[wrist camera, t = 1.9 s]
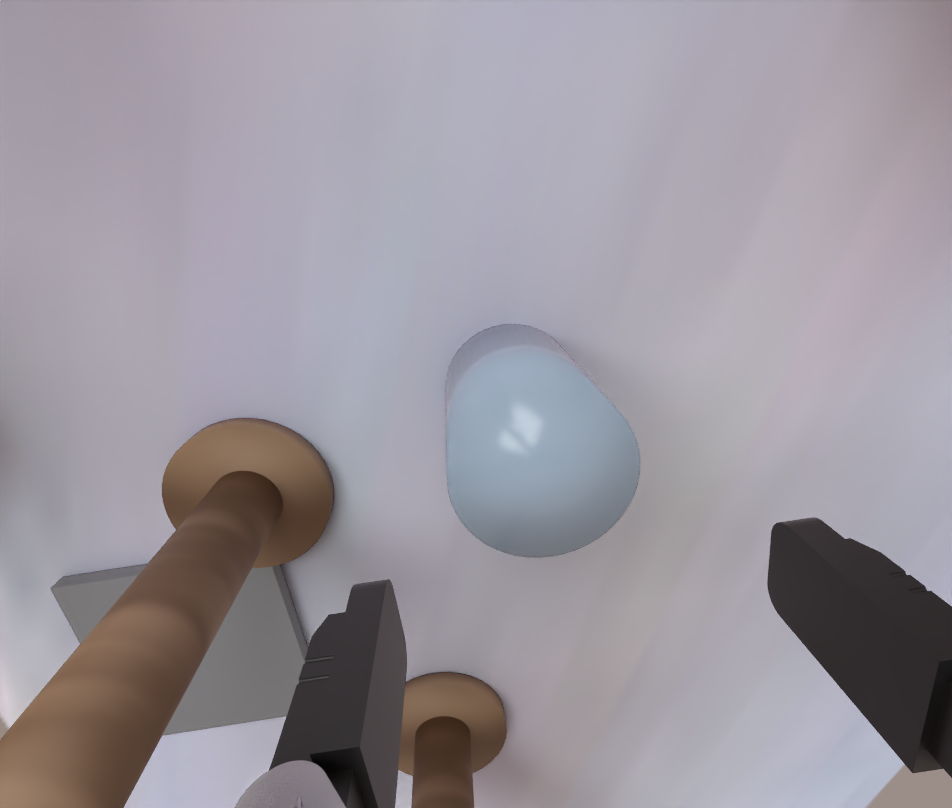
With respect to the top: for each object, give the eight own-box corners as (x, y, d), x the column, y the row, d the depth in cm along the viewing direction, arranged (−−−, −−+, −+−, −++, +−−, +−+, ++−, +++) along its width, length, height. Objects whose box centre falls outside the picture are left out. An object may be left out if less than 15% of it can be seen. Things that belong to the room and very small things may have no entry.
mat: (62, 576, 24) (50, 588, 23) (273, 544, 24) (268, 555, 23) (140, 725, 28) (132, 740, 27) (324, 697, 28) (321, 710, 27)
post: (150, 431, 22) (-836, 1167, 5) (312, 406, 22) (-119, 1051, 5) (203, 564, 24) (-336, 1356, 7) (349, 542, 24) (142, 1277, 8)
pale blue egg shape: (435, 334, 21) (431, 401, 14) (568, 314, 21) (638, 369, 14) (455, 454, 23) (462, 570, 16) (577, 436, 23) (642, 542, 16)
